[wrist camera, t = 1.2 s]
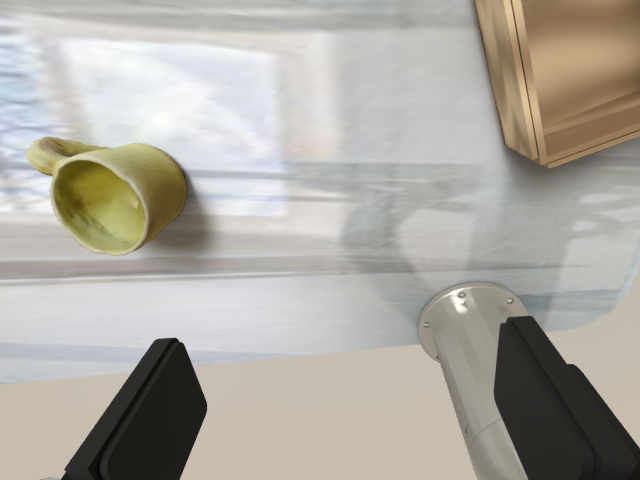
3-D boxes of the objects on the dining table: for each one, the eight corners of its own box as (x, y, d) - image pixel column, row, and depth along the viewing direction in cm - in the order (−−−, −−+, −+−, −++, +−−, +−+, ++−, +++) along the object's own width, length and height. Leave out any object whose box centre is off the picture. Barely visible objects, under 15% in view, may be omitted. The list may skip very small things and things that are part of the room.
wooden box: (649, 95, 31) (725, 105, 25) (500, 152, 34) (535, 173, 28) (639, -151, 24) (740, -220, 18) (454, -54, 27) (487, -85, 21)
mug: (222, 194, 36) (140, 239, 28) (173, 234, 42) (95, 281, 34) (142, 86, 34) (30, 102, 26) (103, 145, 40) (3, 172, 32)
